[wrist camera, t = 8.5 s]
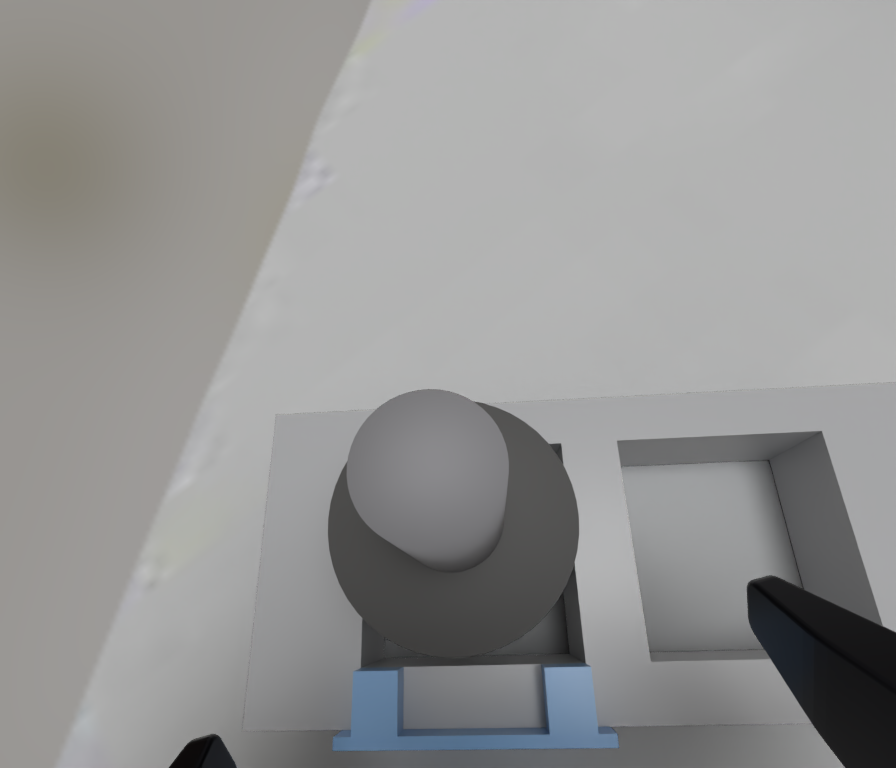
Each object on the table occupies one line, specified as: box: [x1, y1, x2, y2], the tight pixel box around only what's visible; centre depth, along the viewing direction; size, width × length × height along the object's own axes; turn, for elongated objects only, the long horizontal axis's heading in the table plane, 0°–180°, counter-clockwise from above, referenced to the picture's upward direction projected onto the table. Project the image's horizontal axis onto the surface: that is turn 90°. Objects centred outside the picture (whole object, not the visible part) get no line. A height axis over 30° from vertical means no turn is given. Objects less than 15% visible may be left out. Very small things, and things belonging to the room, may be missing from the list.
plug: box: [328, 389, 579, 658], centre depth 13 cm, size 5×5×14 cm
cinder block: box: [242, 382, 896, 751], centre depth 17 cm, size 10×21×4 cm, turn 91°
